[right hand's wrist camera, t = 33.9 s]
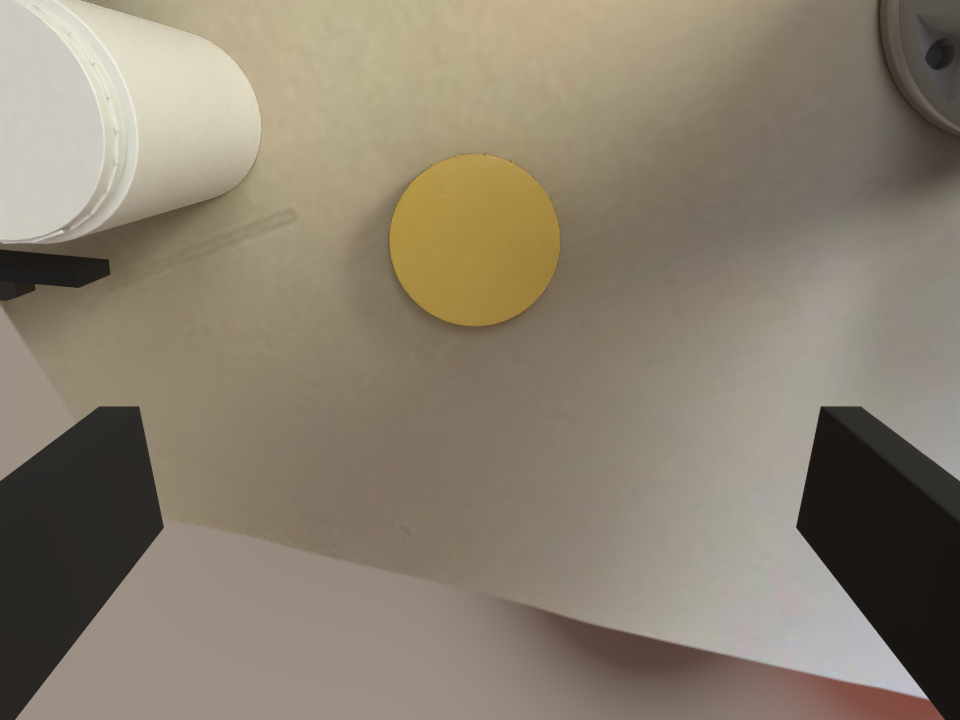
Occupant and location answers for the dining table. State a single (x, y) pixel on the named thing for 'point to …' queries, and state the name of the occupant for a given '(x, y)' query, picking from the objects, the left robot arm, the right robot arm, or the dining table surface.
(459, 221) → the lid
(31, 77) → the jar
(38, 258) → the left robot arm
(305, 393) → the dining table surface
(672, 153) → the dining table surface
